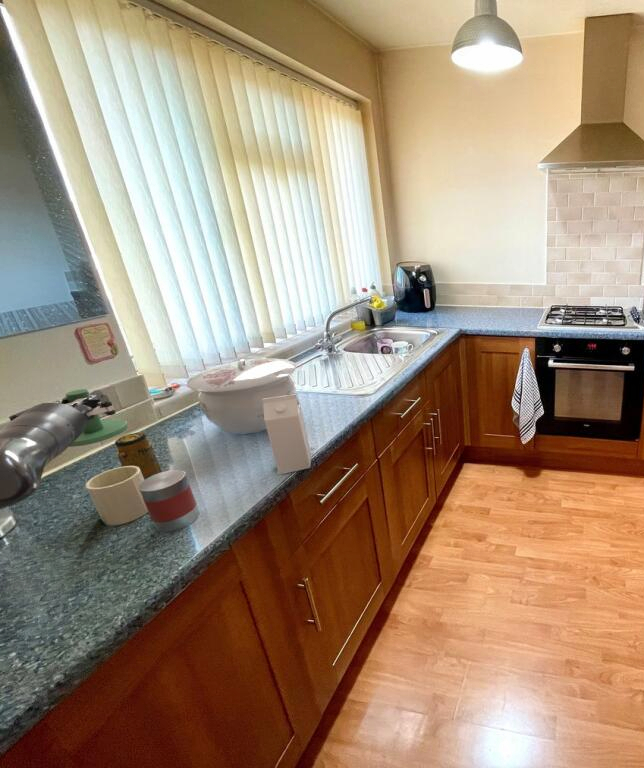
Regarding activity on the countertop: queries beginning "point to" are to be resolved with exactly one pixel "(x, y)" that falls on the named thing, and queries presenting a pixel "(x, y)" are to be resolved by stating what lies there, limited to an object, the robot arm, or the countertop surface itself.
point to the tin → (169, 500)
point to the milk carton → (287, 433)
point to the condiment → (138, 454)
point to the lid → (96, 424)
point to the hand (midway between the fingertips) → (87, 396)
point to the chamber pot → (242, 392)
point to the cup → (118, 495)
